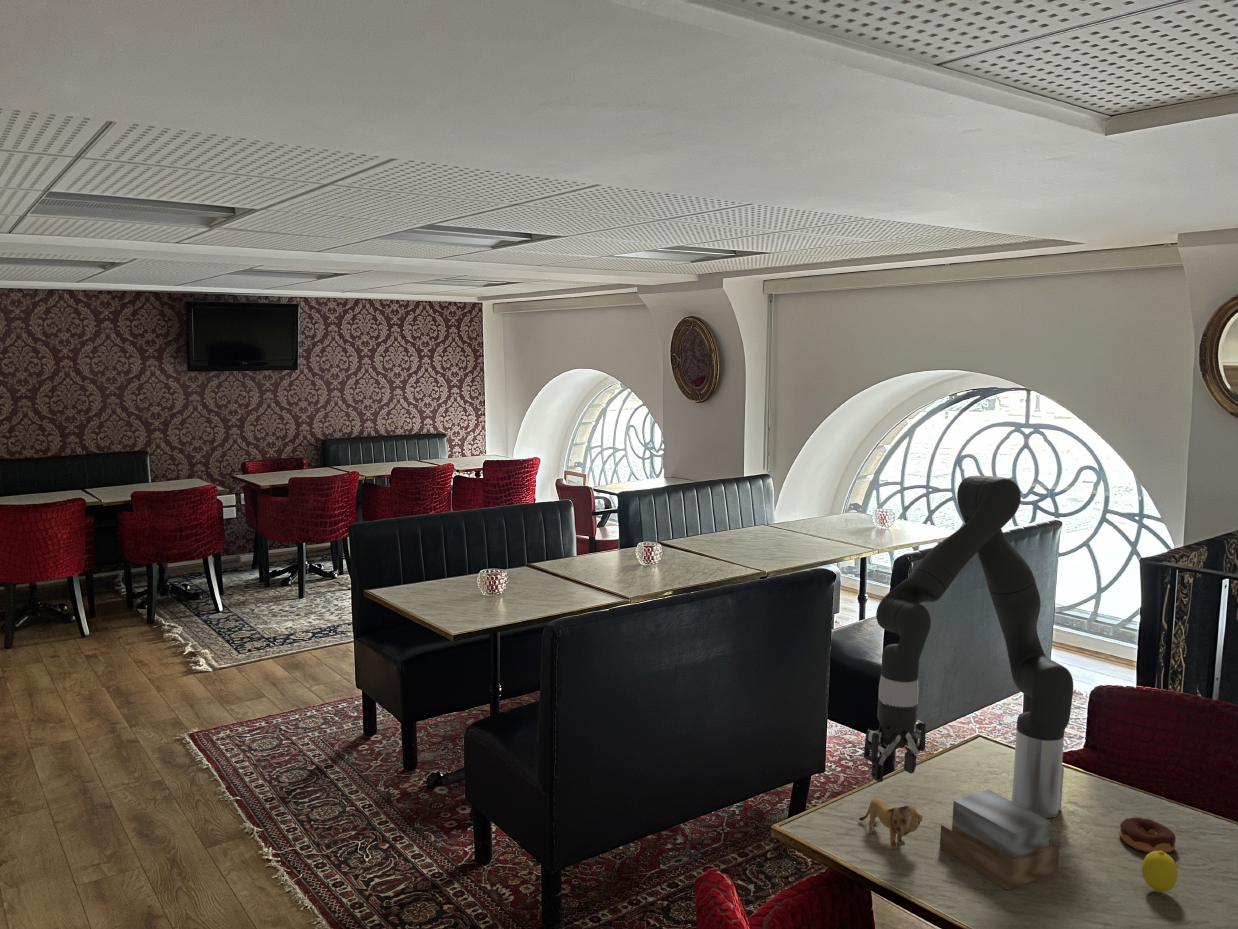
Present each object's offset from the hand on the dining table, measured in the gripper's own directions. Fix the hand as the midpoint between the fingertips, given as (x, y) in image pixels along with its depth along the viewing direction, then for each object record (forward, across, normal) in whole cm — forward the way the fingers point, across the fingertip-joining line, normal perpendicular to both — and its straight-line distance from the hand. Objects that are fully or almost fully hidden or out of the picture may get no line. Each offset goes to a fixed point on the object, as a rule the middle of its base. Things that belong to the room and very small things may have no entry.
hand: (893, 776), depth 181 cm
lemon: (+13, -30, +36) cm, 49 cm away
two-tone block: (+13, -13, +15) cm, 24 cm away
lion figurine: (+14, 0, 0) cm, 14 cm away
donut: (+13, -45, +25) cm, 53 cm away
